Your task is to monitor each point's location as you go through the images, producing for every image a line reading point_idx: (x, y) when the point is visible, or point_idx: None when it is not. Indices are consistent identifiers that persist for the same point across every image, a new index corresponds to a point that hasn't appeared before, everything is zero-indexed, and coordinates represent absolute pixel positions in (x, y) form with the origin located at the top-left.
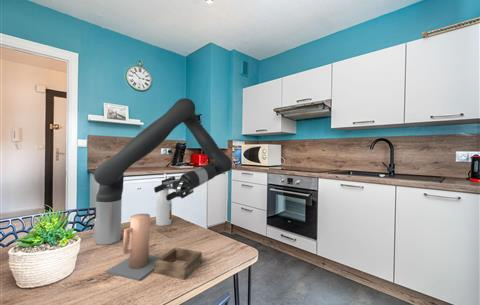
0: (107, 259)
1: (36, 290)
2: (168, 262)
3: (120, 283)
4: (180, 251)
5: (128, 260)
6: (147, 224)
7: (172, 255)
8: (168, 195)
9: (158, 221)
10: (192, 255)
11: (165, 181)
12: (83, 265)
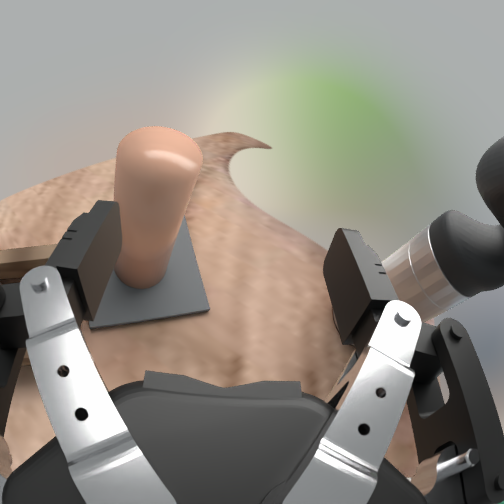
0: (246, 252)
1: (226, 149)
2: (30, 256)
3: (113, 200)
4: None
5: (185, 263)
6: (115, 178)
7: None
8: (94, 207)
9: None
10: None
11: (444, 361)
12: (258, 215)
